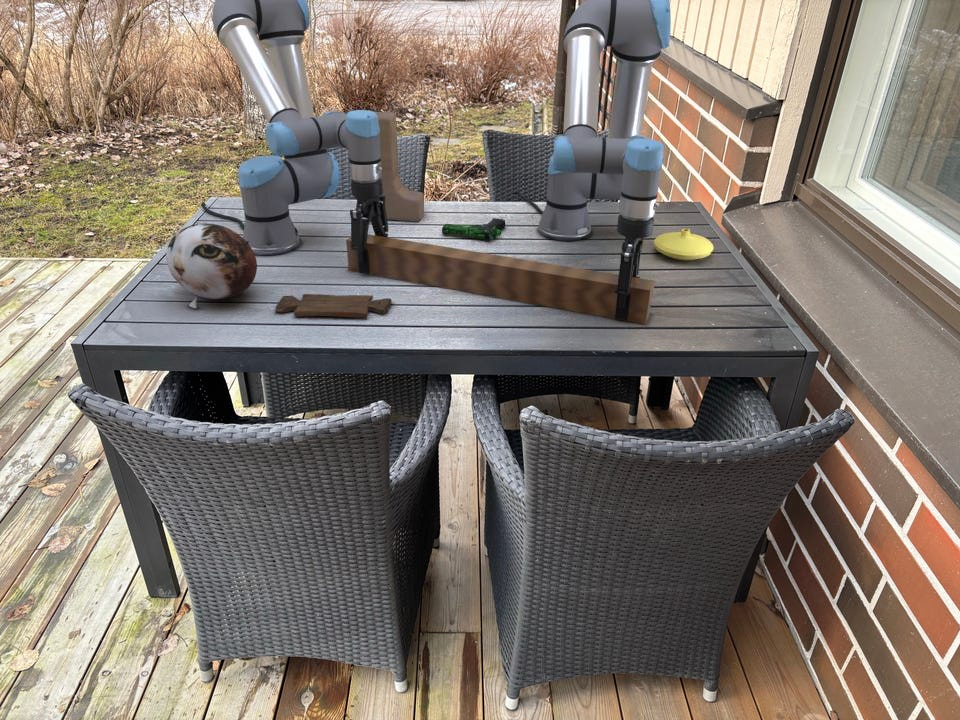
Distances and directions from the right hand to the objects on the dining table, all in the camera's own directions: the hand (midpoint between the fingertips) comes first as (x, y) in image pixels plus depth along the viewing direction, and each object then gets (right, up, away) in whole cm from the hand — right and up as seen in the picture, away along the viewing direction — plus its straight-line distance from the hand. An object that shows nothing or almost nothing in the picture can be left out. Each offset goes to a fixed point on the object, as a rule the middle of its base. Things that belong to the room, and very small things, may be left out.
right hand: (623, 312), depth 163 cm
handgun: (-34, +26, +44) cm, 62 cm away
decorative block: (-58, +33, +55) cm, 86 cm away
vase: (+22, +18, +32) cm, 42 cm away
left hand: (-61, +13, +20) cm, 65 cm away
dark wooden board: (-67, +1, +1) cm, 67 cm away
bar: (-30, +6, +10) cm, 32 cm away
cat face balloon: (-95, +4, +6) cm, 95 cm away
